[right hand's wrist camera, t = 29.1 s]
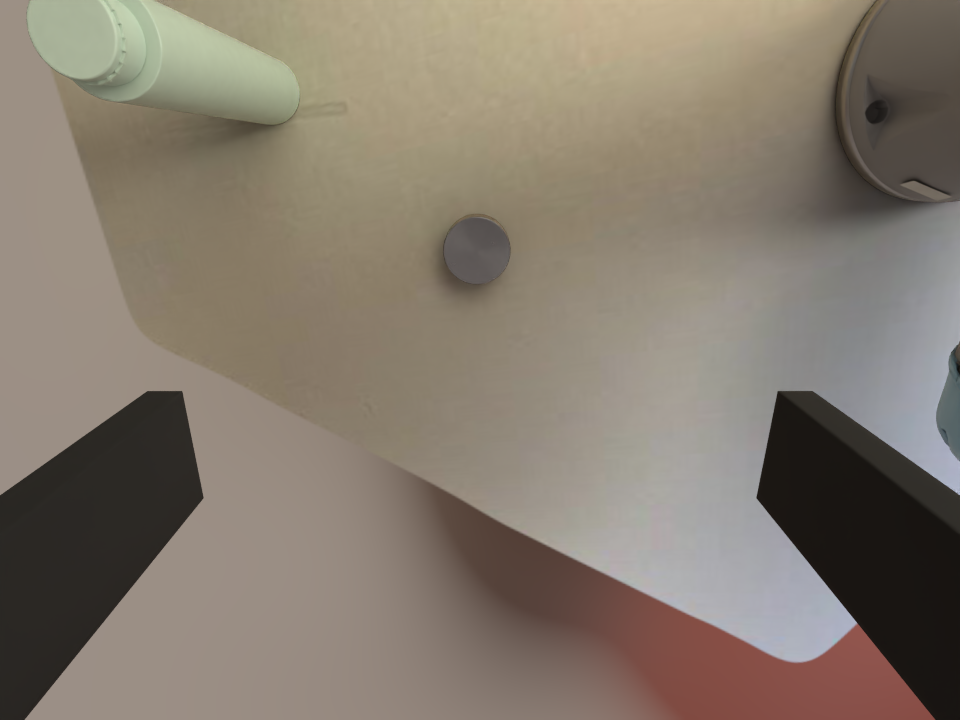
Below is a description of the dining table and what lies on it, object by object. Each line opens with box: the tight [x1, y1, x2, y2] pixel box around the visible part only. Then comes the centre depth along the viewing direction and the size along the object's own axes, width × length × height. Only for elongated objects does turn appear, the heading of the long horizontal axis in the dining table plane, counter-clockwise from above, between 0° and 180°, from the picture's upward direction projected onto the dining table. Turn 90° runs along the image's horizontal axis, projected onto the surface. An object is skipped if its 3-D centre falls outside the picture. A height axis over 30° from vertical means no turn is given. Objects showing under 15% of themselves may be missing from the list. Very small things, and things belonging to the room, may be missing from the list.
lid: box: [444, 214, 510, 284], centre depth 39 cm, size 5×5×2 cm
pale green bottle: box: [26, 0, 300, 125], centre depth 28 cm, size 4×4×19 cm
